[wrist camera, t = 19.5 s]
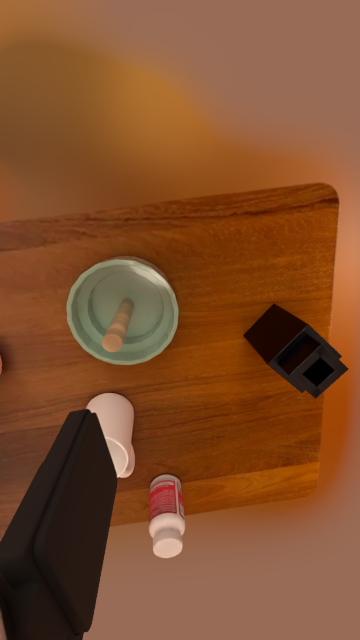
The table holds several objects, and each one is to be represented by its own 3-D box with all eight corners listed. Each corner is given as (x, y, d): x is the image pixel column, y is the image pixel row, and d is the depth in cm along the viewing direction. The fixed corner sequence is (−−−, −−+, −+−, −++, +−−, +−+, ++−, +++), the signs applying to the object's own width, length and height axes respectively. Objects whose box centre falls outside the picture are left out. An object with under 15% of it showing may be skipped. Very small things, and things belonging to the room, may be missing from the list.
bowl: (118, 234, 36) (111, 234, 30) (194, 297, 40) (200, 308, 34) (60, 310, 39) (44, 323, 33) (137, 362, 43) (134, 383, 37)
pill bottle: (143, 487, 51) (140, 552, 41) (164, 468, 50) (165, 530, 40) (167, 500, 53) (169, 566, 43) (187, 482, 52) (195, 545, 41)
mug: (154, 431, 47) (153, 483, 38) (115, 451, 48) (104, 507, 38) (117, 382, 44) (106, 426, 34) (76, 405, 44) (53, 454, 34)
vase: (273, 303, 41) (323, 333, 29) (301, 329, 43) (359, 367, 31) (243, 335, 43) (277, 376, 30) (271, 359, 44) (315, 407, 32)
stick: (126, 296, 38) (109, 329, 25) (137, 304, 39) (126, 341, 26) (118, 306, 39) (97, 344, 26) (128, 314, 39) (114, 356, 26)
